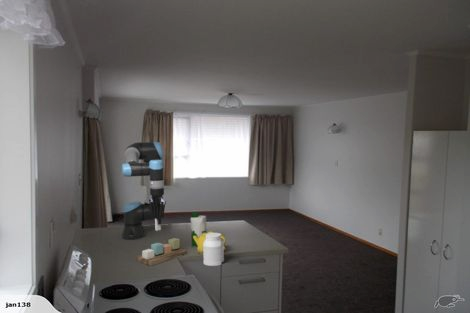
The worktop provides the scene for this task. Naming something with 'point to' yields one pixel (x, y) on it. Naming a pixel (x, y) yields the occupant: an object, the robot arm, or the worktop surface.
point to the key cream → (148, 254)
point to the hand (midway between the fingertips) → (158, 229)
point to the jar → (213, 249)
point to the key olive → (174, 243)
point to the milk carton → (197, 226)
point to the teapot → (201, 240)
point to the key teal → (157, 248)
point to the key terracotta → (167, 248)
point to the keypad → (161, 257)
